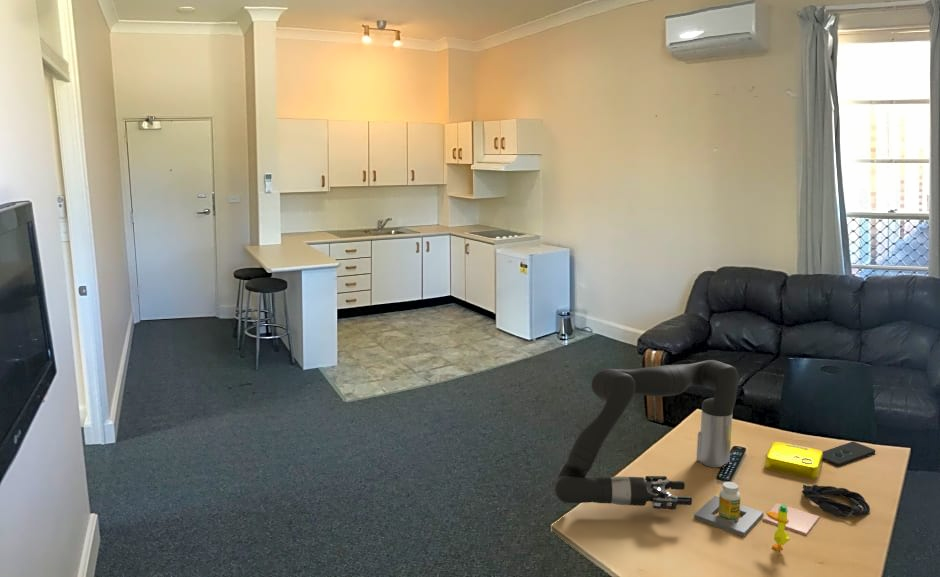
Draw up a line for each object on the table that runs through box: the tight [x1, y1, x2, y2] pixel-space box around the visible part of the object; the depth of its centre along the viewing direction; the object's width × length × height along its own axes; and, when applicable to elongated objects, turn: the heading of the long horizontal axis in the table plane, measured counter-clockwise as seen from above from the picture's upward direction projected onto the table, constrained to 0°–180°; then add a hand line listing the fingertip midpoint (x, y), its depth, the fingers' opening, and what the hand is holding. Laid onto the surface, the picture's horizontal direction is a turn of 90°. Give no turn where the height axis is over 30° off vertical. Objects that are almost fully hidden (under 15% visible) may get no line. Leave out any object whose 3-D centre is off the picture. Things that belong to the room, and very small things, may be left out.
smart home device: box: [822, 441, 876, 468], centre depth 219 cm, size 8×2×20 cm
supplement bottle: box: [718, 481, 742, 523], centre depth 182 cm, size 5×5×10 cm
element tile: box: [764, 440, 823, 480], centre depth 212 cm, size 15×15×5 cm
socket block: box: [693, 495, 764, 538], centre depth 183 cm, size 14×14×1 cm
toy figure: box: [765, 503, 792, 552], centre depth 167 cm, size 7×4×12 cm, turn 37°
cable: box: [801, 484, 871, 518], centre depth 189 cm, size 17×14×4 cm
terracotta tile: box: [762, 502, 820, 536], centre depth 181 cm, size 11×11×1 cm
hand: (687, 493), depth 182 cm, fingers open, 8 cm apart
